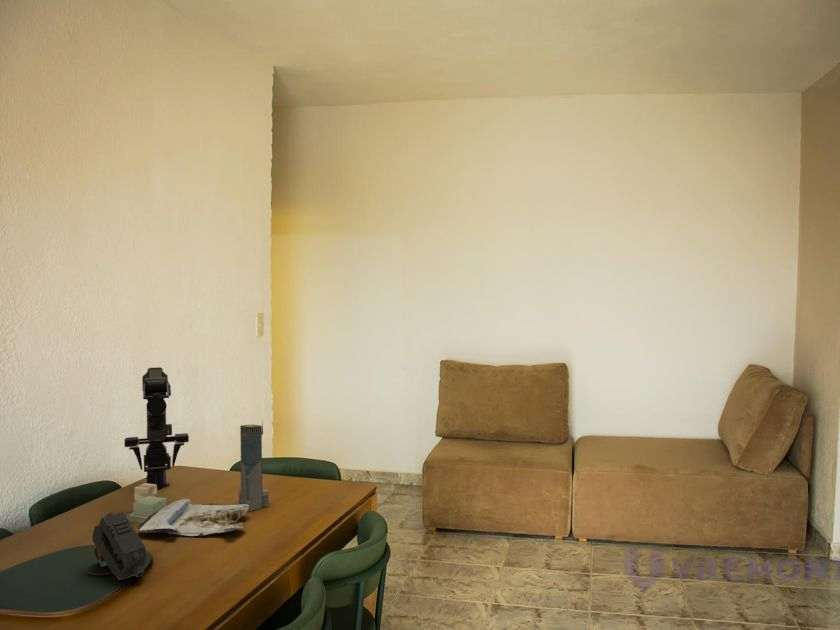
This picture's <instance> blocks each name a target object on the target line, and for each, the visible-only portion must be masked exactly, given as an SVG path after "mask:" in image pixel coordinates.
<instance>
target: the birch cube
mask: <svg viewBox="0 0 840 630" xmlns="http://www.w3.org/2000/svg"><path fill="white" fill-rule="evenodd" d="M133 489H134V491H133V492H134V496H133V497H134V502H136V501H138V500H141V499H143V498H145V497H148V496H152V497H158V489H157V485H156V484H147V482H143V483H141V484H139V485H137V486H135V487H134V488H133Z"/></svg>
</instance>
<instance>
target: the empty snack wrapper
mask: <svg viewBox="0 0 840 630" xmlns="http://www.w3.org/2000/svg"><path fill="white" fill-rule="evenodd" d="M248 508H249V505H248V504H239V503H237V504H221V503H206V504H204V503H202V504H192V503H191V500H190V499H189V498H182V499H178V500H175V501H173V502H171V503H169V504H167V506H166V507H164V508H163V509H161V510H159V511H157V512H155V513H153V514H151V515H150V516H149V517H148V518H147V519H146V520H145V521H144V522H143V523H141V524H140V525H139V526H138V527H137V528H136V530H135V531H138V532H139V533H162V532H163V533H166V534H171V535H176V536H187V537H188V536H189V537H195V536H199V537H200V536H207V535H211V534H219V533H230V532H233V531H237V530H240V529H243V527H244V526H245V525H246V523H244V522H238V521H239V520H240V519H241V517H242V516H244V515H245V514H246V513H248V512H247V510H248Z"/></svg>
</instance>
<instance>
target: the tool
mask: <svg viewBox="0 0 840 630" xmlns="http://www.w3.org/2000/svg"><path fill="white" fill-rule="evenodd" d="M125 515H126V514H125V512H124V511H123V512H122V511H121V512H118V513H115V514H114V513H113V512H109V513H107V514H106V515H105V516H102V517H100V521H99V524H98V525H95V526H94V529H93V532H92V535H91V536H92V542H93V544H94V545H95V548H94V550H93V554H94V556H95V558H96V560H97V559H98V560H99V559H100V560H101V562H102V561H105V562H106V563H107V565H108V566H107V567H108V568H109V569H110V571H111V573H112V574H113V576H114V575H115V576H117V577H118V578H120V579H122V578H125V577H128V576H131V575H133V574H135V575H136V576H135V577H136V578H140V577H142V576H143V575H144V573H145V571H144V569H143V567H144V566H145V564H146V560H147V558H148V557H147V550H146V549H147V548H146V545H145V544H144V543H143V541H142V540H141V538H140V536H139V535H138V532H137V530H135V529H134V527H133V525H132V523H131V521H128V519H127V517H126V516H125ZM98 560H97V561H98ZM115 576H114V577H115Z"/></svg>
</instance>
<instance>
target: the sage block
mask: <svg viewBox="0 0 840 630" xmlns="http://www.w3.org/2000/svg"><path fill="white" fill-rule="evenodd" d="M167 500H168V499H167V497H158V496H157V497H152V496H148V497H145V498H143V499H141V500H138V501H134V502H133V503H132V504H133V505H132V506H133V508H132V509H133V511H132V512H133V514H134V515H136V516H143V517H149V516H150V515H151V514H153V513H155V512H157V511H159V510H161V509H163V508H164V507H166V506H167V505H168V503H167V502H168V501H167Z"/></svg>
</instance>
